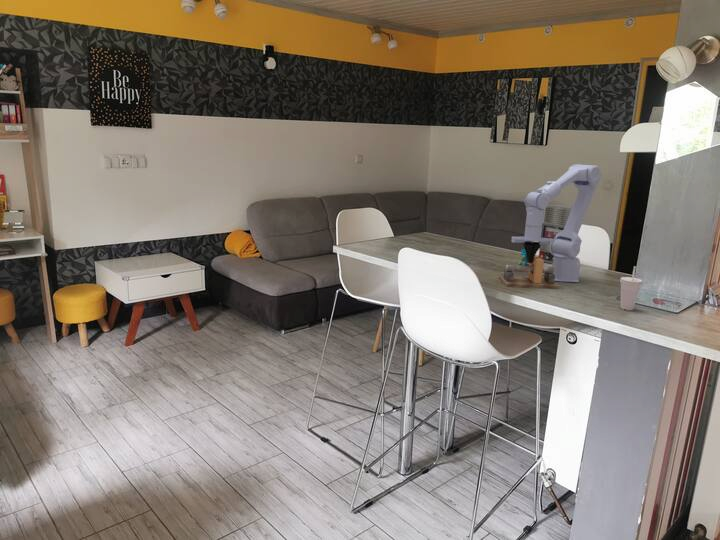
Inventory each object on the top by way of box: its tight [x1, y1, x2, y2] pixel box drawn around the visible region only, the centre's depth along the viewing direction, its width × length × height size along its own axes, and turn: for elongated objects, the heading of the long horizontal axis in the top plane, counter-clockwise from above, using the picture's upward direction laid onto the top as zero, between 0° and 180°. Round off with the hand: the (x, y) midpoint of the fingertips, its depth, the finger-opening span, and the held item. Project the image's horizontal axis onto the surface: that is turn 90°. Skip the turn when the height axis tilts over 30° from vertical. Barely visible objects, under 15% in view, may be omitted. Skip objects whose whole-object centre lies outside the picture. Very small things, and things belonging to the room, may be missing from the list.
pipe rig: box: [498, 264, 560, 290], centre depth 205 cm, size 19×12×7 cm, turn 88°
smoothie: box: [619, 265, 643, 311], centre depth 176 cm, size 6×6×14 cm
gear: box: [517, 248, 529, 266], centre depth 235 cm, size 11×6×10 cm
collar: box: [527, 255, 545, 284], centre depth 204 cm, size 2×9×9 cm, turn 178°
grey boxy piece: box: [538, 204, 573, 265], centre depth 241 cm, size 14×6×25 cm, turn 37°
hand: (529, 262), depth 204 cm, fingers closed
